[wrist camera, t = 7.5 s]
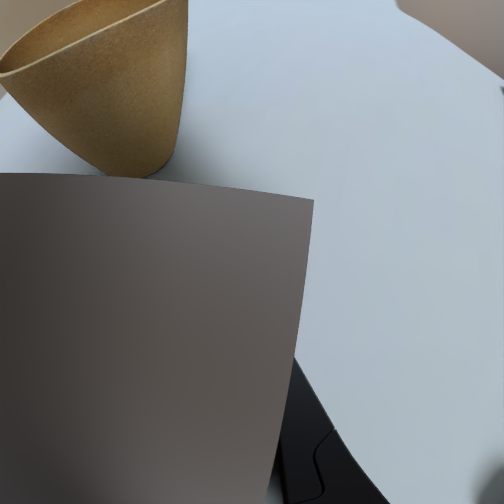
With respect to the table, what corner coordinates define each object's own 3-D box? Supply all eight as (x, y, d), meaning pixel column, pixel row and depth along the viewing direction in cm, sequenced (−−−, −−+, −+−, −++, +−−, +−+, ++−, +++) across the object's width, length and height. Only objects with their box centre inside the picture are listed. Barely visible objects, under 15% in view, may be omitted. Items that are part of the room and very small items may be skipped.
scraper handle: (253, 431, 13) (227, 624, 1) (172, 413, 13) (-71, 449, 1) (268, 353, 14) (313, 199, 2) (189, 337, 15) (-5, 172, 3)
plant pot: (236, 114, 29) (225, -30, 15) (166, 235, 24) (78, 62, 9) (124, 99, 32) (86, -10, 17) (50, 195, 26) (-34, 84, 11)
